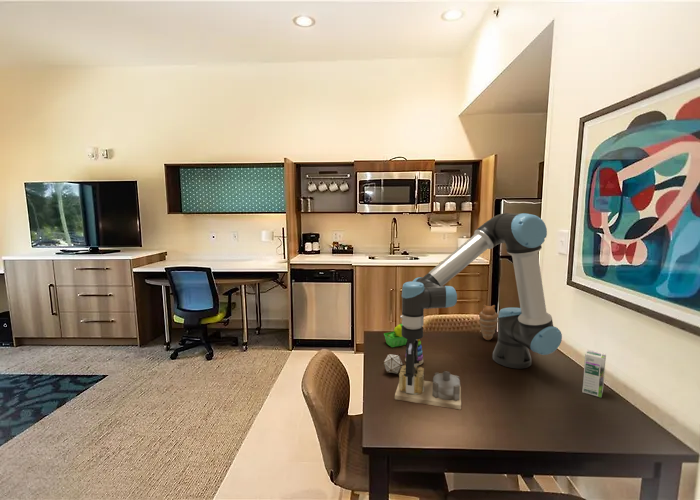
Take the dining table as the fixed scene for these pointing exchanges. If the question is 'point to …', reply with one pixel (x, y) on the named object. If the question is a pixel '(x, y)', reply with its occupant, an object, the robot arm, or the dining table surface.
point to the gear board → (428, 397)
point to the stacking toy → (419, 354)
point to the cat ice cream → (488, 321)
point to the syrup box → (594, 373)
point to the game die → (393, 363)
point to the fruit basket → (395, 337)
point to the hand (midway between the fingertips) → (411, 386)
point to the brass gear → (417, 379)
